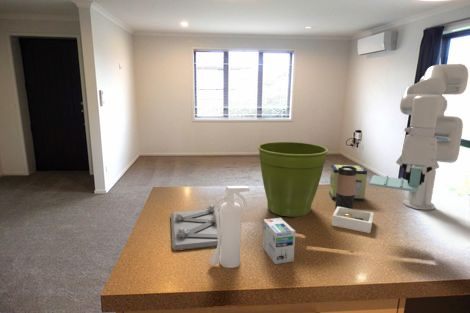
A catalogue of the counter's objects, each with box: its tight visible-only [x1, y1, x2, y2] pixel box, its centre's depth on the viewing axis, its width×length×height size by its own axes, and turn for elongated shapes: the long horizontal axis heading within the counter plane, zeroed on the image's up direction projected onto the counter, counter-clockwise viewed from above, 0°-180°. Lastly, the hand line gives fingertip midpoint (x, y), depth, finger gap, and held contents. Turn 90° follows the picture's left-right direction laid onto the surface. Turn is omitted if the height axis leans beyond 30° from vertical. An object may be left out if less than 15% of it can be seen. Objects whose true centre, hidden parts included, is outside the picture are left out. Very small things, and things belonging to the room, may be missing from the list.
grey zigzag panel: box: [170, 203, 220, 251], centre depth 118 cm, size 30×22×7 cm
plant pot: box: [257, 141, 329, 218], centre depth 136 cm, size 30×30×29 cm
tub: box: [331, 206, 375, 234], centre depth 122 cm, size 11×14×5 cm
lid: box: [368, 165, 421, 192], centre depth 112 cm, size 12×16×7 cm
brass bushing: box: [344, 213, 352, 218], centre depth 124 cm, size 3×3×3 cm
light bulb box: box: [262, 217, 296, 265], centre depth 100 cm, size 11×7×11 cm, turn 17°
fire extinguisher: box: [208, 185, 250, 269], centre depth 93 cm, size 7×12×25 cm, turn 112°
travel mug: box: [334, 166, 357, 210], centre depth 135 cm, size 8×8×20 cm
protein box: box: [328, 164, 368, 202], centre depth 154 cm, size 10×16×16 cm
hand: (414, 182), depth 109 cm, fingers closed on lid, 3 cm apart
